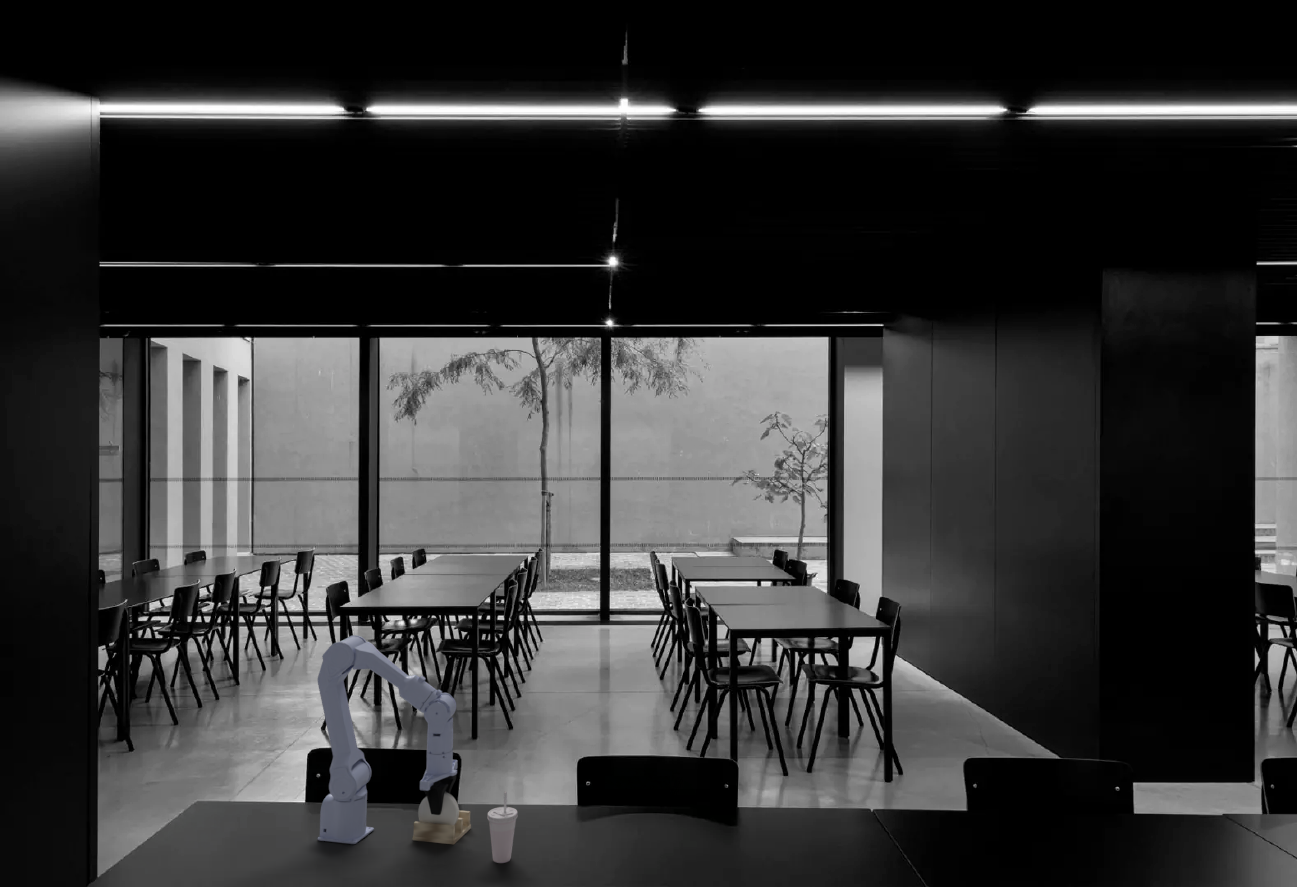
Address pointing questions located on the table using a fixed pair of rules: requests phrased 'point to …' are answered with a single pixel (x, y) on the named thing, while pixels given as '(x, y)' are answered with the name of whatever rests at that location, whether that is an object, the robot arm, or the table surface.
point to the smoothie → (502, 831)
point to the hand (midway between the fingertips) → (438, 812)
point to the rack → (442, 830)
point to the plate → (447, 814)
